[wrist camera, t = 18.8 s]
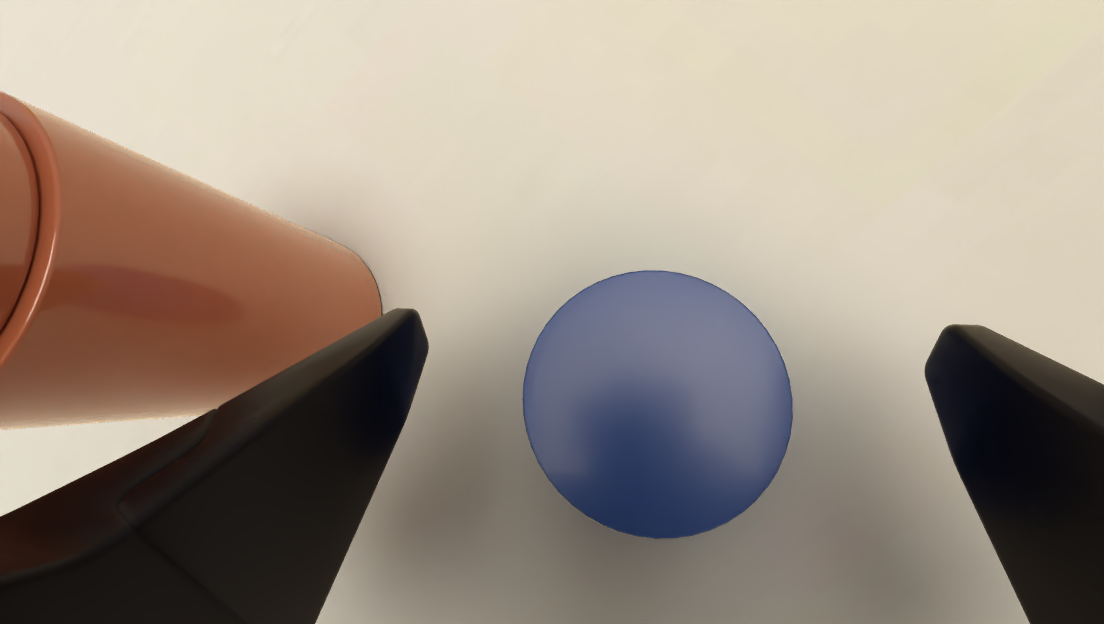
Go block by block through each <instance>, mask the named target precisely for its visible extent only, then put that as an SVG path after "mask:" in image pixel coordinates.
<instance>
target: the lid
mask: <svg viewBox="0 0 1104 624" xmlns="http://www.w3.org/2000/svg"><path fill="white" fill-rule="evenodd" d="M523 412H524V420H525V425H526V431H527V434H528V437H529V441H530V444H531V447H532V449H533V452H534V454H535V456H536V458H537V460H538V463H539V464H540V466H541V468H542V469H543V471H544V473H545V474H546V476H547V477H548V479H549V480H550V481H551V483H552V484H553V485H554V486H555V488H556V489H557V490H558V491H559V493H560V494H561V495H562V496H564V497H565V498H566V499H567V500H568V501H569V502H570V503H571V504H572V505H573V506H574V507H576V508H577V509H578V510H580V511H581V512H582V513H584V514H585V515H586V516H588V517H590V518H592V519H593V520H595V521H597V522H599V523H600V524H602V525H604V526H607V527H609V528H612V529H614V530H617V531H619V532H623V533H626V534H630V535H634V536H639V537H647V538H655V539H665V538H680V537H687V536H693V535H696V534H699V533H703V532H706V531H710V530H712V529H714V528H716V527H718V526H721V525H723V524H725V523H727V522H729V521H730V520H732V519H733V518H735V517H736V516H738V515H739V514H741V513H742V512H744V511H745V510H746V509H747V508H748V507H749V506H750V505H752V504H753V503H754V502H755V501H756V500H757V499H758V498H759V496H760V495H761V494H762V493H763V492H764V491H765V489H766V488H767V487H768V486H769V484H770V482H771V481H772V479H773V478H774V476H775V475H776V473H777V471H778V469H779V467H780V465H781V462H782V460H783V458H784V456H785V453H786V449H787V446H788V442H789V439H790V434H791V426H792V418H793V412H792V394H791V387H790V381H789V377H788V374H787V370H786V367H785V364H784V361H783V359H782V357H781V354H780V352H779V350H778V348H777V346H776V344H775V342H774V341H773V339H772V337H771V336H770V334H769V333H768V331H767V330H766V328H765V327H764V326H763V325H762V323H761V322H760V321H759V320H758V318H757V317H756V316H755V315H754V314H753V313H752V312H751V311H750V310H749V309H748V308H747V307H746V306H744V305H743V304H742V303H741V302H740V301H738V300H737V299H736V298H734V297H733V296H732V295H730V294H729V293H727V292H726V291H724V290H722V289H720V288H718V287H717V286H715V285H713V284H711V283H708V282H706V281H703V280H701V279H698V278H696V277H692V276H689V275H685V274H681V273H675V272H668V271H637V272H628V273H624V274H620V275H616V276H612V277H610V278H607V279H604V280H602V281H599V282H597V283H595V284H593V285H591V286H589V287H587V288H586V289H584V290H582V291H581V292H579V293H578V294H576V295H575V296H574V297H572V298H571V299H570V300H568V301H567V302H566V303H565V304H564V305H563V306H562V307H561V308H560V309H559V310H558V311H557V312H556V313H555V314H554V315H553V317H552V318H551V319H550V320H549V321H548V323H547V324H546V326H545V327H544V329H543V330H542V332H541V334H540V335H539V337H538V339H537V341H536V343H535V345H534V347H533V350H532V352H531V355H530V358H529V361H528V364H527V368H526V373H525V379H524V387H523Z"/></svg>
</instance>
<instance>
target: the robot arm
mask: <svg viewBox="0 0 1104 624" xmlns="http://www.w3.org/2000/svg"><path fill="white" fill-rule="evenodd" d="M428 348H429V345H428V339H427V336H426V333H425V330H424V327H423V324H422V321H421V318H420V315H419V313H418V312H417V311H416V310H414V309H401V308H397V309H394V310H392V311H390V312H388V313H386V314H384V315H383V316H381V317H379V318H377V319H375V320H373V321H372V322H370V323H368V324H366V325H364V326H363V327H361V328H359V329H357V330H355V331H354V332H352V333H350V334H348V335H346V336H345V337H343V338H341V339H339V340H337V341H335V342H334V343H332V344H330V345H328V346H326V347H325V348H323V349H321V350H319V351H317V352H316V353H314V354H312V355H310V356H308V357H307V358H305V359H303V360H301V361H299V362H297V363H296V364H294V365H292V366H290V367H288V368H287V369H285V370H283V371H281V372H279V373H278V374H276V375H274V376H272V377H270V378H269V379H267V380H265V381H263V382H261V383H259V384H258V385H256V386H254V387H252V388H250V389H249V390H247V391H245V392H243V393H241V394H240V395H238V396H236V397H234V398H232V399H231V400H229V401H227V402H225V403H223V404H222V405H220V406H219V407H218V409H212V410H210V411H209V412H207V413H205V414H203V415H201V416H200V417H198V418H196V419H194V420H192V421H191V422H189V423H187V424H185V425H183V426H181V427H179V428H177V429H176V430H174V431H172V432H170V433H168V434H166V435H164V436H163V437H161V438H159V439H157V440H155V441H153V442H151V443H149V444H147V445H145V446H143V447H141V448H139V449H137V450H135V451H133V452H131V453H129V454H127V455H125V456H123V457H121V458H119V459H117V460H115V461H113V462H111V463H109V464H107V465H105V466H103V467H101V468H99V469H97V470H95V471H93V472H91V473H89V474H87V475H85V476H83V477H81V478H79V479H77V480H75V481H73V482H71V483H69V484H67V485H65V486H63V487H61V488H59V489H57V490H55V491H53V492H51V493H49V494H46V495H44V496H42V497H40V498H38V499H36V500H34V501H32V502H30V503H28V504H26V505H24V506H22V507H20V508H18V509H16V510H14V511H12V512H9V513H7V514H5V515H3V516H1V517H0V624H315V623H316V620H317V618H318V616H319V614H320V611H321V609H322V607H323V605H324V603H325V600H326V598H327V596H328V594H329V591H330V589H331V587H332V585H333V582H334V580H335V578H336V576H337V573H338V571H339V569H340V567H341V565H342V562H343V560H344V558H345V556H346V553H347V551H348V549H349V547H350V544H351V542H352V540H353V538H354V535H355V533H356V531H357V529H358V527H359V524H360V522H361V520H362V518H363V515H364V513H365V511H366V509H367V506H368V504H369V502H370V500H371V497H372V495H373V493H374V491H375V489H376V486H377V484H378V482H379V480H380V477H381V475H382V473H383V471H384V468H385V466H386V464H387V462H388V460H389V457H390V455H391V453H392V451H393V448H394V446H395V444H396V442H397V439H398V437H399V435H400V433H401V430H402V428H403V426H404V423H405V421H406V419H407V416H408V413H409V410H410V407H411V404H412V401H413V398H414V395H415V392H416V389H417V385H418V382H419V379H420V376H421V373H422V370H423V367H424V364H425V360H426V357H427V354H428ZM925 378H926V381H927V384H928V387H929V390H930V393H931V396H932V399H933V402H934V405H935V408H936V411H937V414H938V417H939V420H940V423H941V426H942V429H943V432H944V435H945V438H946V441H947V444H948V447H949V450H950V453H951V456H952V458H953V461H954V463H955V466H956V468H957V470H958V472H959V475H960V477H961V479H962V481H963V483H964V485H965V488H966V490H967V492H968V494H969V496H970V498H971V500H972V502H973V504H974V507H975V509H976V511H977V513H978V515H979V517H980V519H981V521H982V523H983V525H984V528H985V530H986V532H987V534H988V536H989V538H990V540H991V542H992V544H993V547H994V549H995V551H996V553H997V555H998V557H999V559H1000V561H1001V563H1002V565H1003V568H1004V570H1005V572H1006V574H1007V576H1008V578H1009V580H1010V582H1011V584H1012V587H1013V589H1014V591H1015V593H1016V595H1017V597H1018V599H1019V601H1020V603H1021V605H1022V608H1023V610H1024V612H1025V614H1026V616H1027V618H1028V620H1029V622H1030V624H1104V385H1103V384H1101V383H1099V382H1097V381H1095V380H1093V379H1091V378H1089V377H1087V376H1085V375H1083V374H1081V373H1079V372H1076V371H1074V370H1072V369H1070V368H1068V367H1066V366H1064V365H1062V364H1060V363H1058V362H1056V361H1054V360H1052V359H1050V358H1048V357H1046V356H1044V355H1041V354H1039V353H1037V352H1035V351H1033V350H1031V349H1029V348H1027V347H1025V346H1023V345H1021V344H1019V343H1017V342H1015V341H1013V340H1011V339H1009V338H1006V337H1004V336H1002V335H1000V334H998V333H996V332H994V331H992V330H990V329H988V328H986V327H983V326H980V325H958V324H953V325H949V326H947V327H946V328H944V329H943V331H942V332H941V334H940V336H939V338H938V340H937V342H936V344H935V346H934V348H933V350H932V352H931V354H930V356H929V358H928V360H927V362H926V365H925Z"/></svg>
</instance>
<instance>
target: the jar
mask: <svg viewBox="0 0 1104 624" xmlns="http://www.w3.org/2000/svg"><path fill="white" fill-rule="evenodd" d="M379 317H381V302H380V295H379V292H378V288H377V285H376V283H375V280H374V278H373V276H372V274H371V272H370V271H369V269H368V267H367V266H366V265H365V263H364V262H363V261H362V260H361V259H360V258H359V257H358V256H357V255H356V254H355V253H354V252H352V251H351V250H349V249H348V248H346V247H344V246H342V245H340V244H338V243H336V242H333V241H331V240H329V239H327V238H325V237H322V236H320V235H318V234H316V233H314V232H311V231H309V230H307V229H305V228H302V227H300V226H298V225H296V224H294V223H291V222H289V221H287V220H285V219H283V218H280V217H278V216H276V215H274V214H272V213H269V212H267V211H265V210H263V209H261V208H258V207H256V206H254V205H252V204H249V203H247V202H245V201H243V200H241V199H238V198H236V197H234V196H232V195H230V194H227V193H225V192H223V191H221V190H219V189H216V188H214V187H212V186H210V185H208V184H205V183H203V182H201V181H199V180H196V179H194V178H192V177H190V176H188V175H185V174H183V173H181V172H179V171H177V170H174V169H172V168H170V167H168V166H166V165H163V164H161V163H159V162H157V161H154V160H152V159H150V158H148V157H146V156H143V155H141V154H139V153H137V152H135V151H132V150H130V149H128V148H126V147H124V146H121V145H119V144H117V143H115V142H113V141H110V140H108V139H106V138H104V137H101V136H99V135H97V134H95V133H93V132H90V131H88V130H86V129H84V128H82V127H79V126H77V125H75V124H73V123H71V122H68V121H66V120H64V119H62V118H59V117H57V116H55V115H53V114H51V113H48V112H46V111H44V110H42V109H40V108H37V107H35V106H33V105H31V104H29V103H26V102H24V101H22V100H20V99H18V98H15V97H13V96H11V95H9V94H6V93H4V92H2V91H0V430H6V429H20V428H34V427H48V426H61V425H75V424H89V423H103V422H116V421H130V420H144V419H158V418H172V417H185V416H199V415H203V414H205V413H207V412H209V411H210V410H212V409H218V407H219V406H220V405H222V404H223V403H225V402H227V401H229V400H231V399H232V398H234V397H236V396H238V395H240V394H241V393H243V392H245V391H247V390H249V389H250V388H252V387H254V386H256V385H258V384H259V383H261V382H263V381H265V380H267V379H269V378H270V377H272V376H274V375H276V374H278V373H279V372H281V371H283V370H285V369H287V368H288V367H290V366H292V365H294V364H296V363H297V362H299V361H301V360H303V359H305V358H307V357H308V356H310V355H312V354H314V353H316V352H317V351H319V350H321V349H323V348H325V347H326V346H328V345H330V344H332V343H334V342H335V341H337V340H339V339H341V338H343V337H345V336H346V335H348V334H350V333H352V332H354V331H355V330H357V329H359V328H361V327H363V326H364V325H366V324H368V323H370V322H372V321H373V320H375V319H377V318H379Z"/></svg>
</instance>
